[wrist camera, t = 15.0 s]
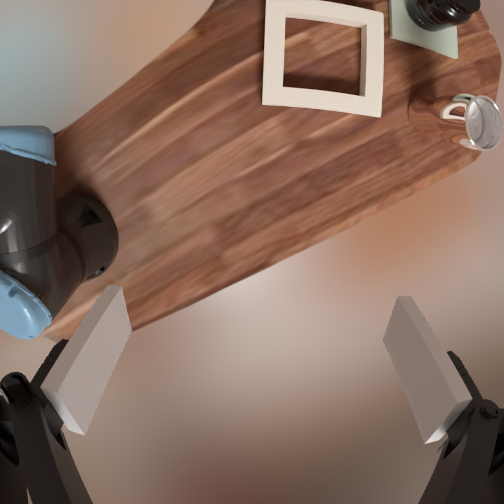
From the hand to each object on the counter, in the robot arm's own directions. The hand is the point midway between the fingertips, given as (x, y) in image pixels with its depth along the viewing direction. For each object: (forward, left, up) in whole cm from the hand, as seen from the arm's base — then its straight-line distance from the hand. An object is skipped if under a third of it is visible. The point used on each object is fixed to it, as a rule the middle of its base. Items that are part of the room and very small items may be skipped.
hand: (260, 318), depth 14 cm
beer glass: (+25, +12, -32) cm, 42 cm away
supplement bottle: (+24, +29, -31) cm, 49 cm away
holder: (+8, +18, -32) cm, 37 cm away
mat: (+24, +29, -32) cm, 49 cm away
